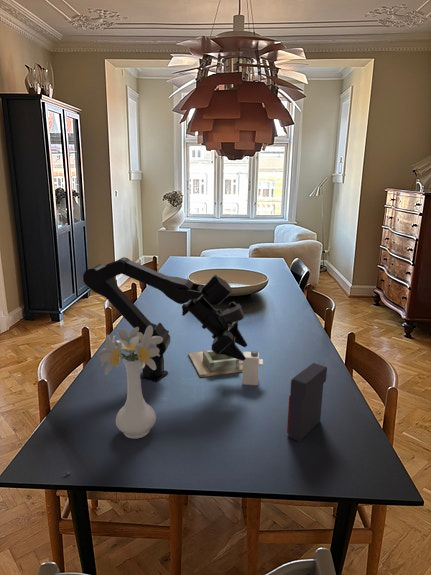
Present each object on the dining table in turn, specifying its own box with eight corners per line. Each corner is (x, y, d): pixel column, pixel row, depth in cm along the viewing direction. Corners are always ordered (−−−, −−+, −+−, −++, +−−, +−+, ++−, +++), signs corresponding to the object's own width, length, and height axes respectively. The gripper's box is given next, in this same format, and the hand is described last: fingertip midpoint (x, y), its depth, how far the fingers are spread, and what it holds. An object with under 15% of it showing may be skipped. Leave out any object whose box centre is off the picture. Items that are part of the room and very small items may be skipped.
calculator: (306, 415, 105) (310, 361, 101) (322, 421, 102) (327, 366, 98) (284, 436, 97) (288, 377, 93) (301, 443, 94) (305, 384, 90)
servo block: (238, 383, 120) (238, 354, 118) (239, 377, 124) (239, 348, 122) (261, 385, 120) (263, 355, 117) (262, 378, 123) (263, 350, 121)
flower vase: (169, 409, 107) (167, 318, 101) (154, 456, 90) (150, 349, 83) (120, 407, 108) (114, 316, 101) (95, 453, 90) (86, 347, 84)
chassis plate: (199, 377, 124) (199, 365, 123) (188, 355, 139) (188, 344, 138) (250, 370, 128) (250, 358, 127) (233, 350, 143) (234, 339, 142)
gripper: (223, 306, 107) (265, 348, 108) (230, 287, 125) (266, 323, 126) (194, 334, 110) (235, 374, 111) (204, 311, 128) (240, 346, 129)
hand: (245, 352), depth 120 cm, fingers open, 9 cm apart
